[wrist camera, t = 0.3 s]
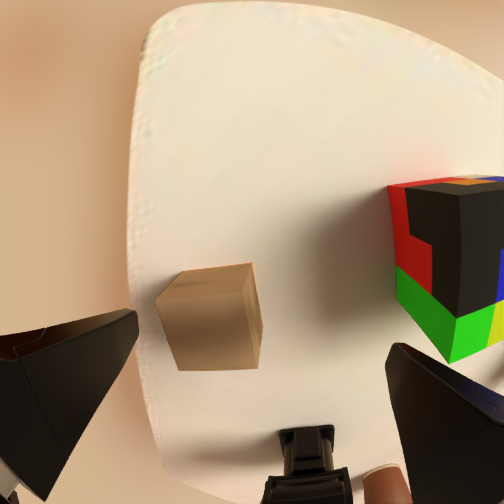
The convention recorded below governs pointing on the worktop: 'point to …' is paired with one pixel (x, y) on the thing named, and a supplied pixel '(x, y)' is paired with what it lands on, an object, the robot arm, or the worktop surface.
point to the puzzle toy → (451, 260)
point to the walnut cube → (213, 318)
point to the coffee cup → (386, 486)
